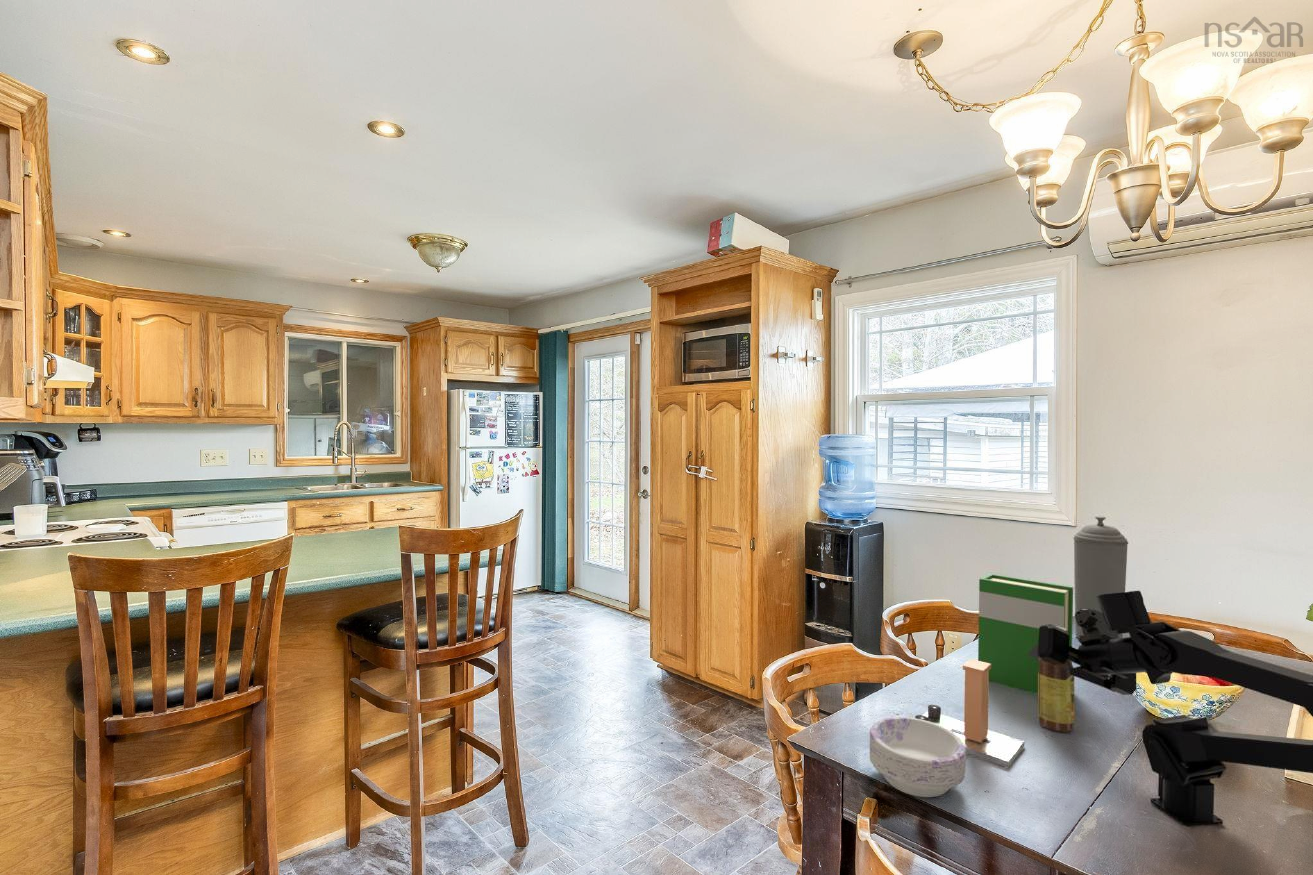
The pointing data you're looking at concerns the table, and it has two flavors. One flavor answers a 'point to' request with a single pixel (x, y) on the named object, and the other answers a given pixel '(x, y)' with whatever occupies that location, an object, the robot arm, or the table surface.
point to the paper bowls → (917, 755)
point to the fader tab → (976, 700)
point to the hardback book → (1018, 625)
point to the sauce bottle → (1056, 695)
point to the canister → (1098, 566)
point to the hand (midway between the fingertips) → (1050, 662)
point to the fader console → (990, 749)
